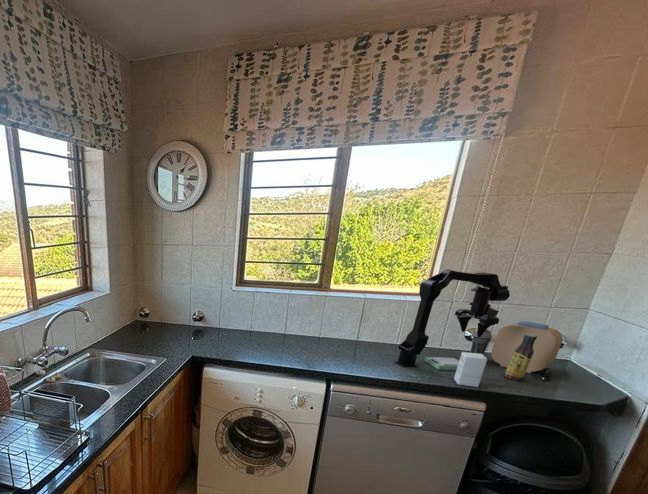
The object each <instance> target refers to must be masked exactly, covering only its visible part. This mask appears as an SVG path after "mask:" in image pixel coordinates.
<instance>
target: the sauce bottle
mask: <svg viewBox="0 0 648 494" xmlns="http://www.w3.org/2000/svg"><path fill="white" fill-rule="evenodd" d="M536 338H537V336H536V335H532V334H525V335H524V339H523V341H522V343H521V344H520V346H519V347H518V348H517V349H516V350H515V351H514V353H513V355H512V358H511V360H510V362H509V365H508V367H507V368H506V369H505V373H504V377H505V378H506V379H510V380H513V381H522V380H523V378H524V377H525V375H526V370H527V368H528V366H529V363H530V361H531V358H532V355H533V353H534V350H533V344H534V342H535V340H536Z"/></svg>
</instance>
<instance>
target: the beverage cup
mask: <svg viewBox="0 0 648 494" xmlns="http://www.w3.org/2000/svg"><path fill="white" fill-rule="evenodd" d="M477 331H478V329H477V330H476V331H475V332H474V333H473V335H472V342H471V346H470V347H471V348H470V352H469V353H478V354H483V355H484V354H485V353H486V349H487V348H488V345H489V343H490V342H491V340H492V337H493V336H492V335H493V334H492V332H491V331H490V330H489V329H488V328H487V329H486V331H485V332H484V333H483V334H482V336H481V337H477Z"/></svg>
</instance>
